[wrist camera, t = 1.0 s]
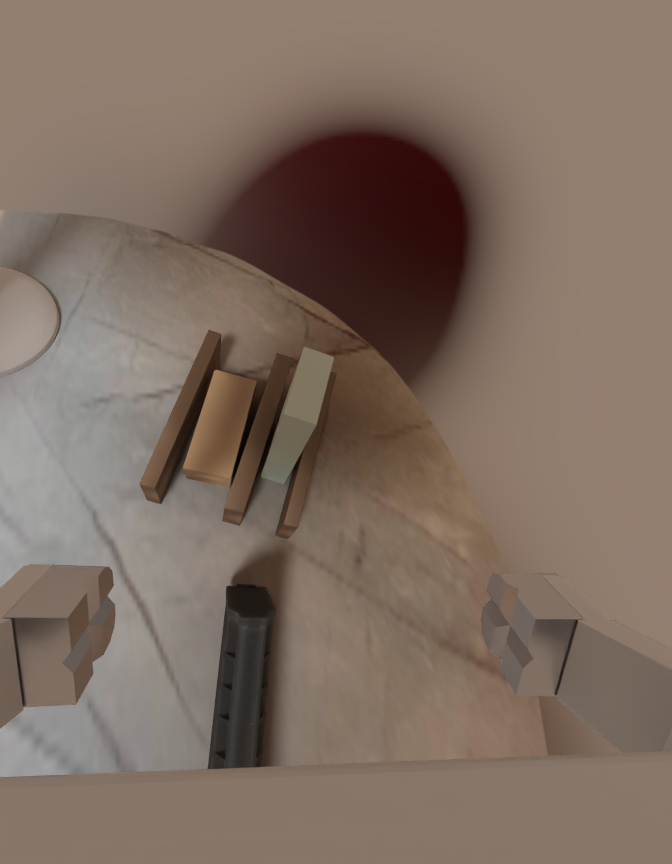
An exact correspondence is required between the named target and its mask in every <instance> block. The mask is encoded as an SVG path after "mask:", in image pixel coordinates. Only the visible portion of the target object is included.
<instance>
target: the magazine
mask: <svg viewBox="0 0 672 864" xmlns="http://www.w3.org/2000/svg"><path fill="white" fill-rule="evenodd" d="M274 616H275V606H274V604H273V602H272V600H271V598H270V595H269V593H268V591H267V589H266V587H256V585H244V584H237V586H227V587H226V607H225V616H224V626H223V635H222V644H221V653H220V662H219V671H218V680H217V689H216V698H215V707H214V717H213V726H212V735H211V744H210V754H209V763H208V769H224V768H249V767H261V763H262V754H263V734H264V720H265V713H266V712H265V706H266V693H267V686H268V682H267V681H268V669H269V656H270V645H271V634H272V623H273V617H274Z"/></svg>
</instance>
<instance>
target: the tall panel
mask: <svg viewBox="0 0 672 864" xmlns="http://www.w3.org/2000/svg"><path fill="white" fill-rule="evenodd" d="M333 360H334V357H333V356H330V355H327V354H324V353H321V352H318V351H316V350H313V349H310V348H307V347H304V348H303V351H302V354H301V357H300V360H299V363H298V365H297V368H296V371H295V374H294V377H293V380H292V382H291V385H290V388H289V391H288V394H287V397H286V400H285V402H284V405H283V408H282V411H281V414H280V417H279V420H278V422H277V425H276V429H275V432H274V435H273V438H272V441H271V445H270V448H269V451H268V454H267V457H266V461H265V464H264V467H263V470H262V474H261V478H264V479H267V480H271V481H274V482H278V483H281V484H284V483H285V482H286V480H287V478H288V476H289V474H290V472H291V471H292V469H293V467H294V465H295V463H296V461H297V460H298V458H299V456H300V454H301V452H302V450H303V449H304V447H305V445H306V443H307V441H308V440H309V438H310V436H311V434H312V432H313V430H314V429H315V427H316V425H317V421H318V417H319V414H320V410H321V406H322V402H323V398H324V394H325V391H326V387H327V383H328V379H329V375H330V371H331V368H332V364H333Z"/></svg>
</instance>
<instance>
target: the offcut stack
mask: <svg viewBox="0 0 672 864" xmlns="http://www.w3.org/2000/svg"><path fill="white" fill-rule="evenodd" d="M256 384H257V380H254V379H250V378H246V377H243V376H239V375H235V374H231V373H227V372H224V371H220V370H214V373H213V377H212V380H211V383H210V386H209V389H208V392H207V395H206V398H205V401H204V404H203V407H202V410H201V414H200V417H199V420H198V423H197V426H196V429H195V432H194V435H193V438H192V441H191V444H190V447H189V451H188V454H187V457H186V460H185V463H184V466H183V472H184V474H186V477H187V478H188V479H192V480H197V481H201V482H206V483H211V484H215V485H220V486H224V487H229V488H230V485H231V481H232V477H233V473H234V470H235V466H236V462H237V458H238V454H239V451H240V447H241V443H242V439H243V436H244V432H245V428H246V424H247V420H248V417H249V413H250V409H251V405H252V402H253V398H254V393H255V389H256Z"/></svg>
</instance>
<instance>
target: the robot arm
mask: <svg viewBox="0 0 672 864" xmlns="http://www.w3.org/2000/svg"><path fill="white" fill-rule="evenodd" d="M113 586H114V583H113V573H112V570H111V569H110V568H109V567H103V566H76V565H49V564H30V565H26V566H23V567H22V568H21V569H20V570H19V571H18V572H17V573H16V574H15V575H14V576H13V577H12V578H11V579H10V580H8V581H7V582H6V583H5V584H4V585H3V586H2V587H1V588H0V728H1V727H3V726H4V725H5V724H6V723H8V722H9V721H10V720H11V719H13V718H14V717H15V716H16V715H18V714H19V713H20V712H21V711H23V707H37V706H58V705H76V704H77V702H78V700H79V698H80V697H81V695H82V693H83V691H84V689H85V687H86V686H87V684H88V682H89V680H90V678H91V677H92V675H93V665H92V662H94V661H95V660H96V659H98V658H99V657H101V656H102V655H104V653H105V651H106V649H107V647H108V645H109V643H110V640H111V636H112V633H113V629H114V623H115V604H114V603H113V602H112V601H111V600H110V599H109V597H108V596H107V595H108V594H109V592H110V591H111V589H112V587H113ZM487 591H488V593H489V595H490V597H491V599H490V600H489V601H488V602H487V603H486V604H485V605H484V606H483V610H482V616H481V627H482V634H483V637H484V640H485V643H486V645H487V647H488V648H489V650H490V652H491V653H493V654H494V655H496V656H497V657H498V658H500V659H501V660H502V664H501V668H500V669H501V671H502V672H503V674H504V676H505V677H506V679H507V681H508V682H509V684H510V686H511V687H512V689H513V691H514V692H515V694H516V696H557V697H556V698H557V699H558V700H559V701H560V702H561V703H563V704H564V705H565V706H566V707H567V708H569V709H570V710H571V711H572V712H573V713H575V714H576V715H577V716H578V717H579V718H581V719H582V720H583V721H584V722H585V723H587V724H588V725H589V726H590V727H592V728H593V729H594V730H595V731H596V732H597V733H599V734H600V735H601V736H602V737H604V738H605V739H606V740H607V741H608V742H610V743H611V744H612V745H613V746H614V747H616V748H617V749H618V750H619V751H620V752H622V753H609V754H587V755H560V756H532V757H505V758H478V759H451V760H423V761H398V762H373V763H348V764H323V765H298V766H274V767H249V768H224V769H199V770H173V771H148V772H122V773H97V774H71V775H46V776H20V777H0V864H672V648H671V647H669V646H667V645H665V644H663V643H661V642H659V641H657V640H654V639H652V638H650V637H648V636H646V635H644V634H642V633H640V632H638V631H636V630H634V629H632V628H630V627H628V626H626V625H624V624H622V623H620V622H618V621H616V620H608V619H606V617H605V616H603V615H602V614H601V613H600V612H599V611H598V610H597V609H596V608H595V607H594V606H593V605H592V604H591V603H590V602H589V601H588V600H587V599H586V598H585V597H584V596H583V595H582V594H581V593H580V592H579V591H578V590H577V589H576V588H575V587H573V586H572V585H571V584H570V583H569V582H568V581H567V580H566V579H565V578H564V577H563V576H562V575H559V574H557V573H535V574H492V576H491V577H490V579H489V581H488V586H487Z"/></svg>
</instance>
